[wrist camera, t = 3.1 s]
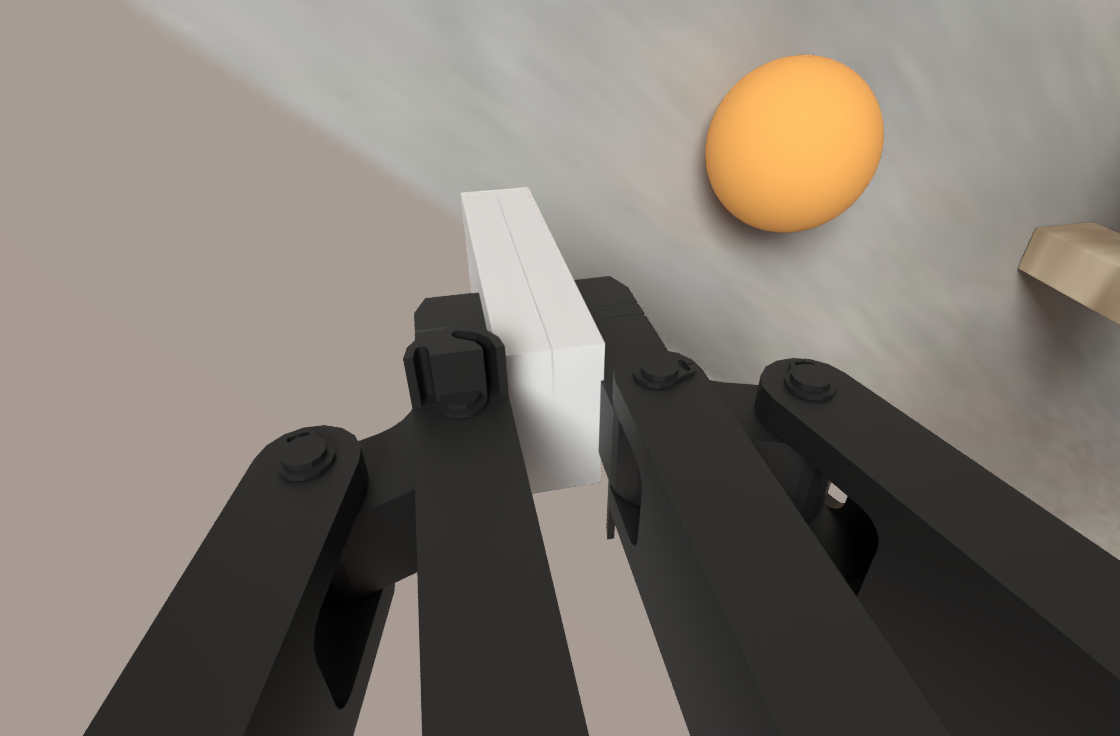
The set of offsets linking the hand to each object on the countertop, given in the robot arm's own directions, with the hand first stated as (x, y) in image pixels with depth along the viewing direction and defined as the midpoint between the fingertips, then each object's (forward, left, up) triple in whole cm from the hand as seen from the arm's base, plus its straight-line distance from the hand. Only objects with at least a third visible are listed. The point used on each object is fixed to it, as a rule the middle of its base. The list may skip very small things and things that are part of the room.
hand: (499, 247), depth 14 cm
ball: (-10, 0, -6) cm, 12 cm away
